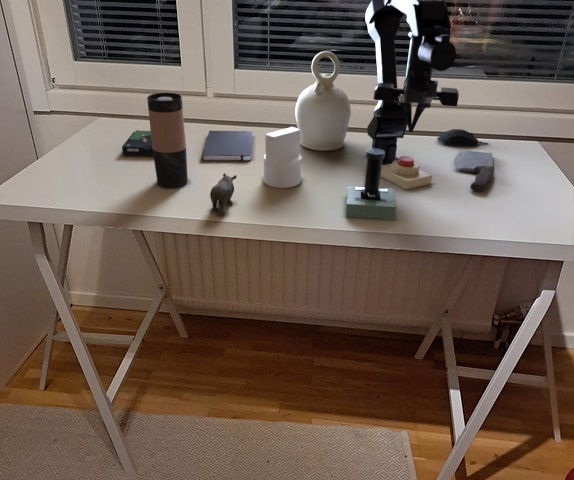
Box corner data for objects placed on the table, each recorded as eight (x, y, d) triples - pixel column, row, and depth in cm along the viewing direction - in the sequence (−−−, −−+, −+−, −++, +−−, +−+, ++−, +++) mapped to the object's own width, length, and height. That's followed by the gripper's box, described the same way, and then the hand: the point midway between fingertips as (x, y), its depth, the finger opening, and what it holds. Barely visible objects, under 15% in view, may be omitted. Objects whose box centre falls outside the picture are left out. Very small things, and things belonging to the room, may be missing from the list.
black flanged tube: (353, 214, 120) (358, 156, 113) (353, 201, 126) (358, 145, 119) (385, 216, 119) (393, 157, 112) (384, 203, 125) (391, 146, 118)
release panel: (377, 174, 140) (379, 159, 138) (401, 169, 143) (403, 154, 141) (405, 189, 132) (408, 173, 130) (430, 183, 135) (433, 168, 133)
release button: (395, 164, 136) (396, 157, 135) (406, 161, 138) (407, 155, 137) (404, 168, 134) (405, 161, 133) (416, 166, 135) (417, 159, 134)
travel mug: (194, 179, 134) (188, 94, 124) (179, 190, 128) (171, 102, 117) (166, 174, 136) (158, 91, 126) (150, 185, 130) (139, 99, 119)
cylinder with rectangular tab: (282, 171, 140) (283, 123, 134) (308, 181, 135) (310, 132, 129) (256, 179, 135) (255, 131, 128) (281, 190, 130) (282, 140, 123)
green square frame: (345, 216, 118) (347, 203, 117) (346, 197, 127) (347, 185, 125) (393, 219, 118) (395, 207, 116) (391, 200, 126) (392, 188, 125)
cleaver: (493, 194, 130) (495, 186, 129) (451, 189, 132) (452, 180, 131) (492, 156, 154) (493, 149, 153) (456, 152, 156) (457, 144, 155)
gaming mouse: (490, 147, 160) (493, 134, 158) (439, 145, 160) (441, 132, 158) (484, 140, 165) (487, 127, 163) (435, 139, 166) (437, 125, 163)
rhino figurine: (241, 192, 128) (240, 167, 125) (226, 217, 117) (225, 190, 114) (224, 190, 129) (223, 165, 126) (207, 215, 118) (206, 188, 114)
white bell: (313, 132, 168) (317, 44, 155) (357, 143, 161) (366, 51, 147) (283, 145, 158) (285, 51, 144) (329, 157, 150) (336, 59, 137)
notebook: (209, 135, 163) (202, 160, 145) (209, 130, 162) (202, 154, 145) (252, 136, 164) (251, 161, 146) (252, 131, 163) (251, 155, 145)
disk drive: (161, 157, 147) (171, 139, 159) (160, 147, 146) (170, 129, 158) (122, 157, 147) (135, 138, 159) (121, 146, 145) (134, 129, 158)
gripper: (374, 65, 118) (367, 138, 126) (465, 71, 114) (451, 145, 123) (379, 56, 127) (372, 124, 135) (463, 62, 124) (450, 131, 132)
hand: (410, 131), depth 131 cm, fingers closed
